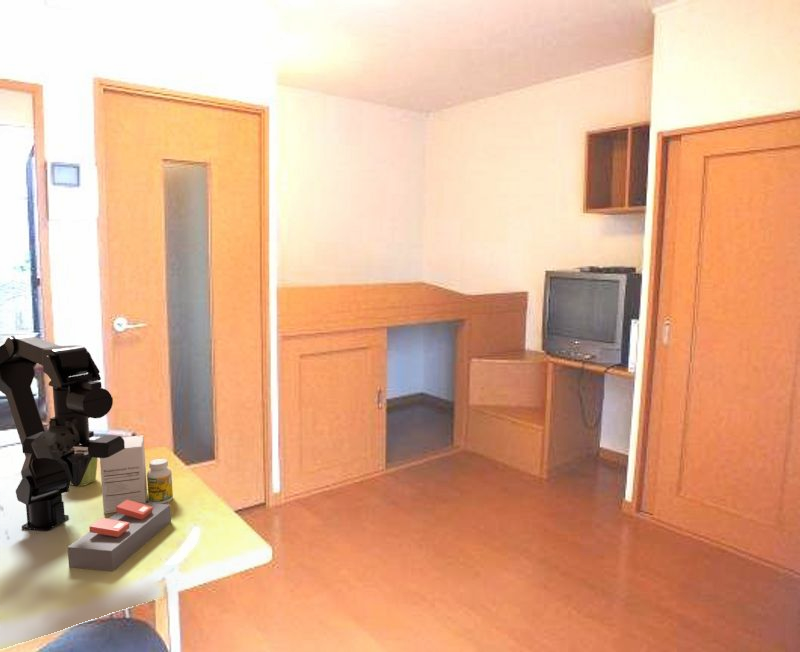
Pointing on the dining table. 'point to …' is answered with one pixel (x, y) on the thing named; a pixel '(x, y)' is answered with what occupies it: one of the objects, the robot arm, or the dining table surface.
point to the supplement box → (124, 475)
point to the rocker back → (134, 509)
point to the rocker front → (109, 527)
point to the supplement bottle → (159, 482)
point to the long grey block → (118, 540)
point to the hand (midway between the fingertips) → (76, 485)
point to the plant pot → (89, 472)
